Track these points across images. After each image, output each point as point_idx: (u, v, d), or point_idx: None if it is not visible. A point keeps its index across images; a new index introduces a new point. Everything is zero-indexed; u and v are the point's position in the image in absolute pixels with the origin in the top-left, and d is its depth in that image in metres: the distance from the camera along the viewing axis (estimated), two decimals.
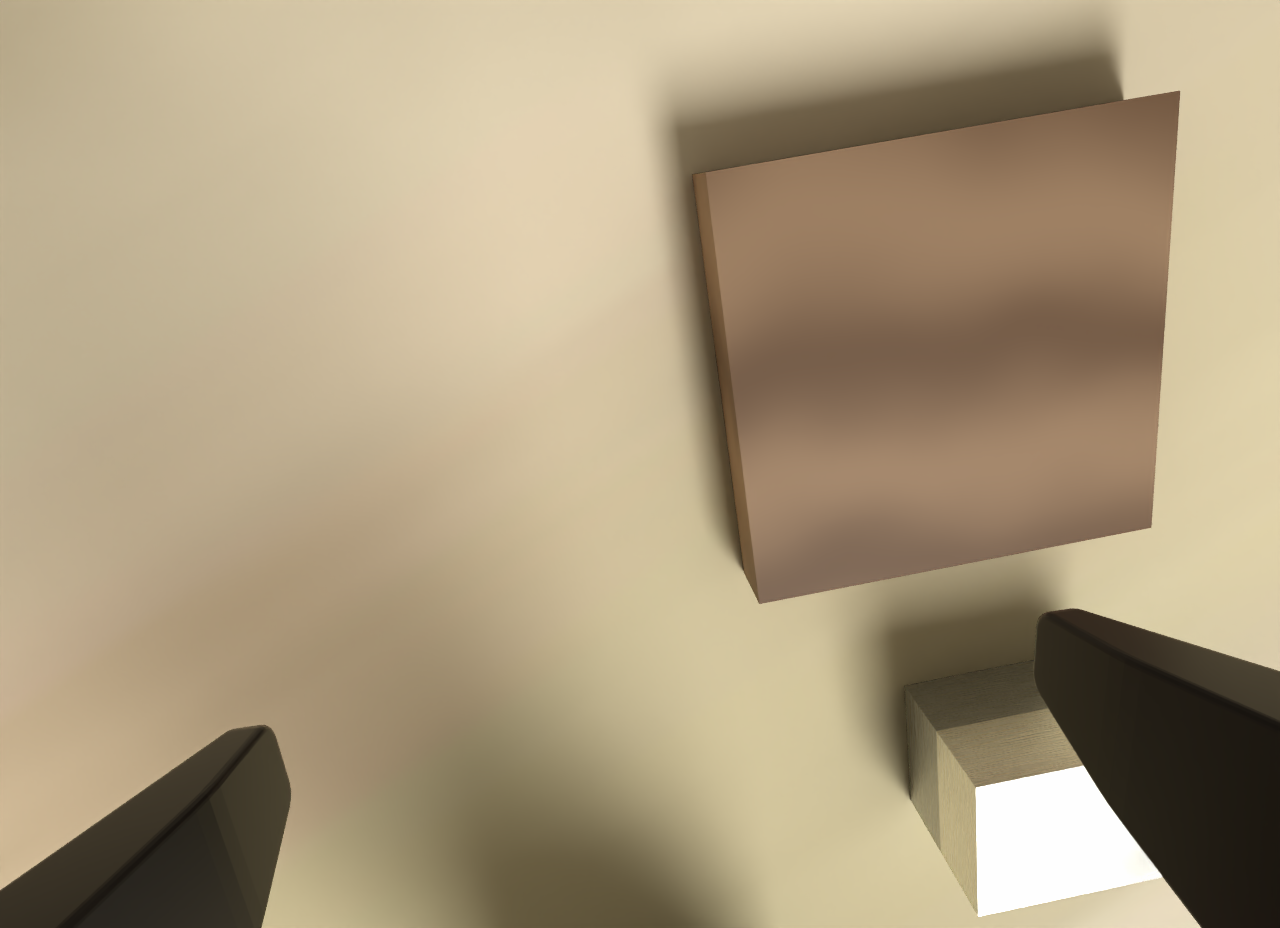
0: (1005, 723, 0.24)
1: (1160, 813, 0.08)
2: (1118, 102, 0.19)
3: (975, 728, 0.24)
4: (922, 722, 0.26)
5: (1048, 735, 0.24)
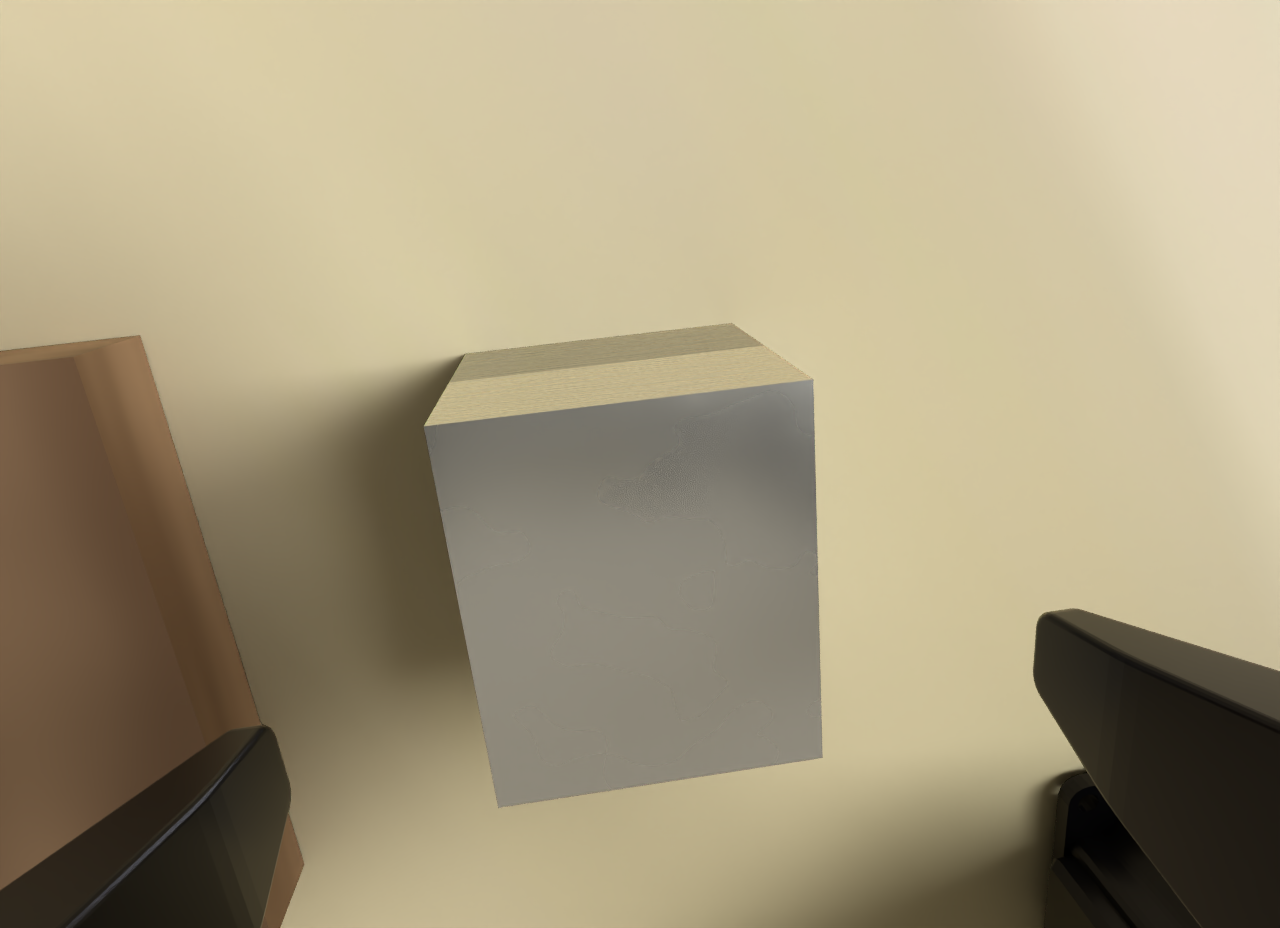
0: None
1: (1160, 813, 0.08)
2: None
3: None
4: None
5: None
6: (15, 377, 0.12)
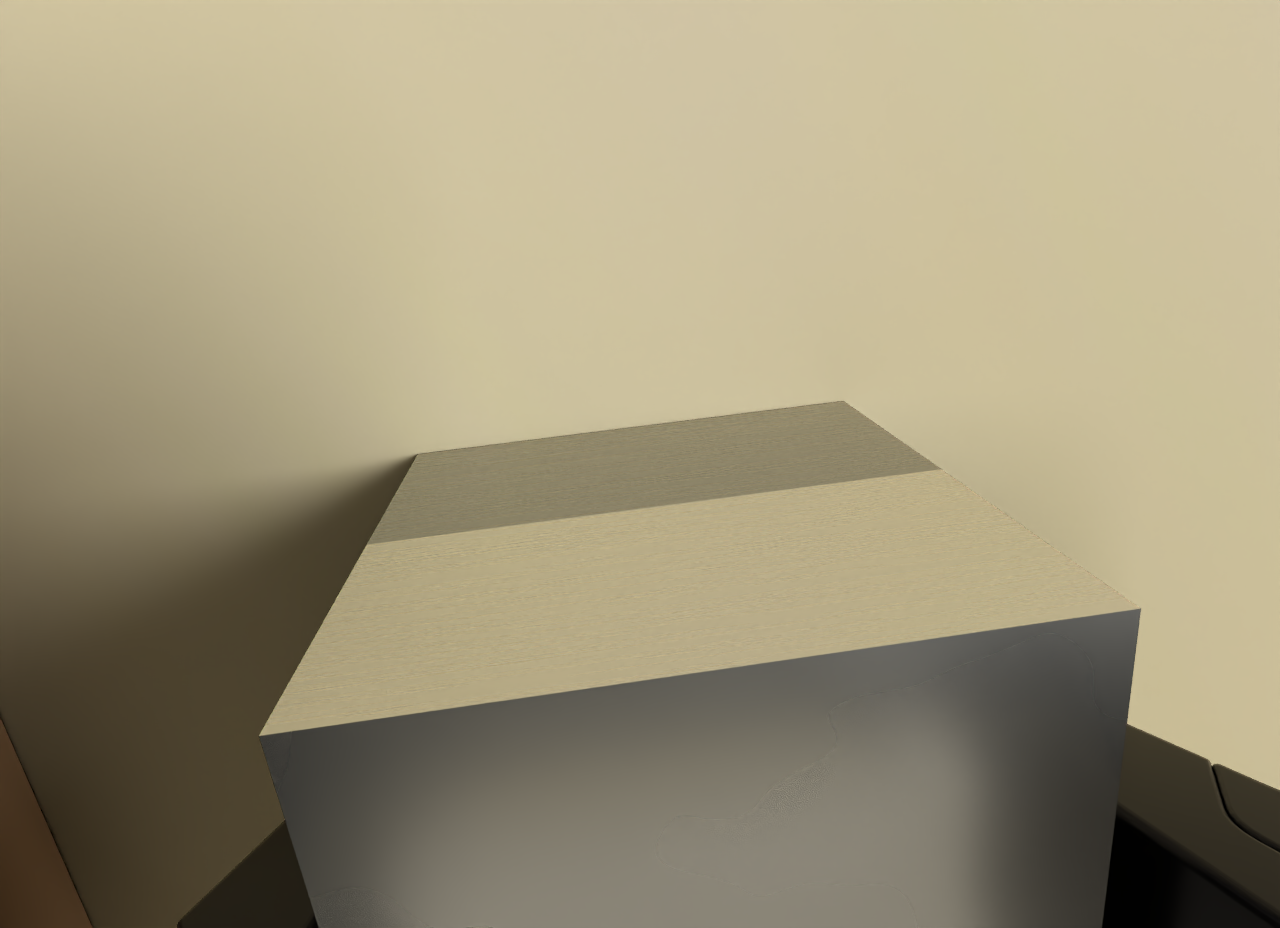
0: None
1: None
2: None
3: None
4: None
5: None
6: None
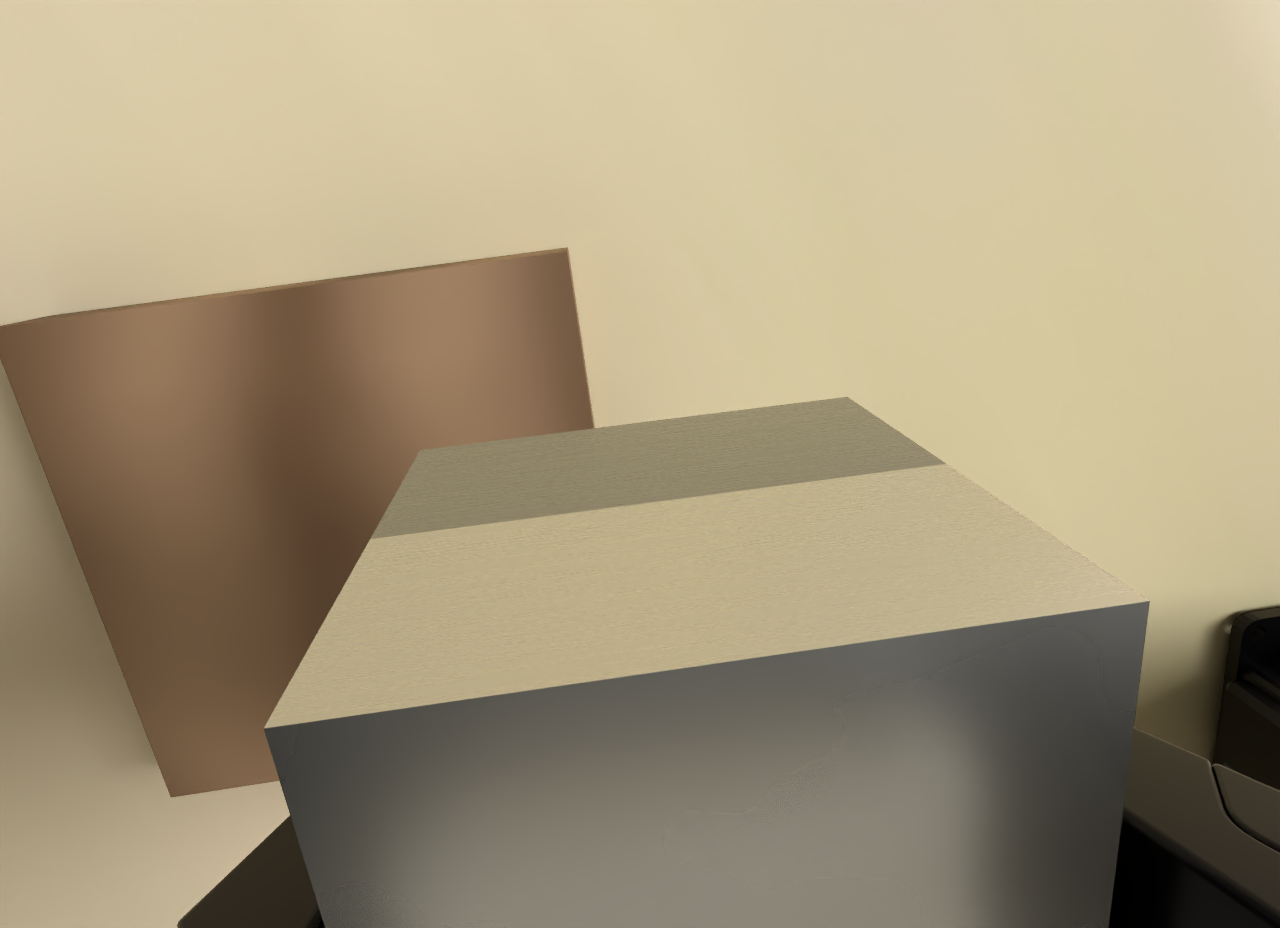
0: None
1: None
2: (19, 402, 0.17)
3: None
4: None
5: None
6: (525, 267, 0.17)
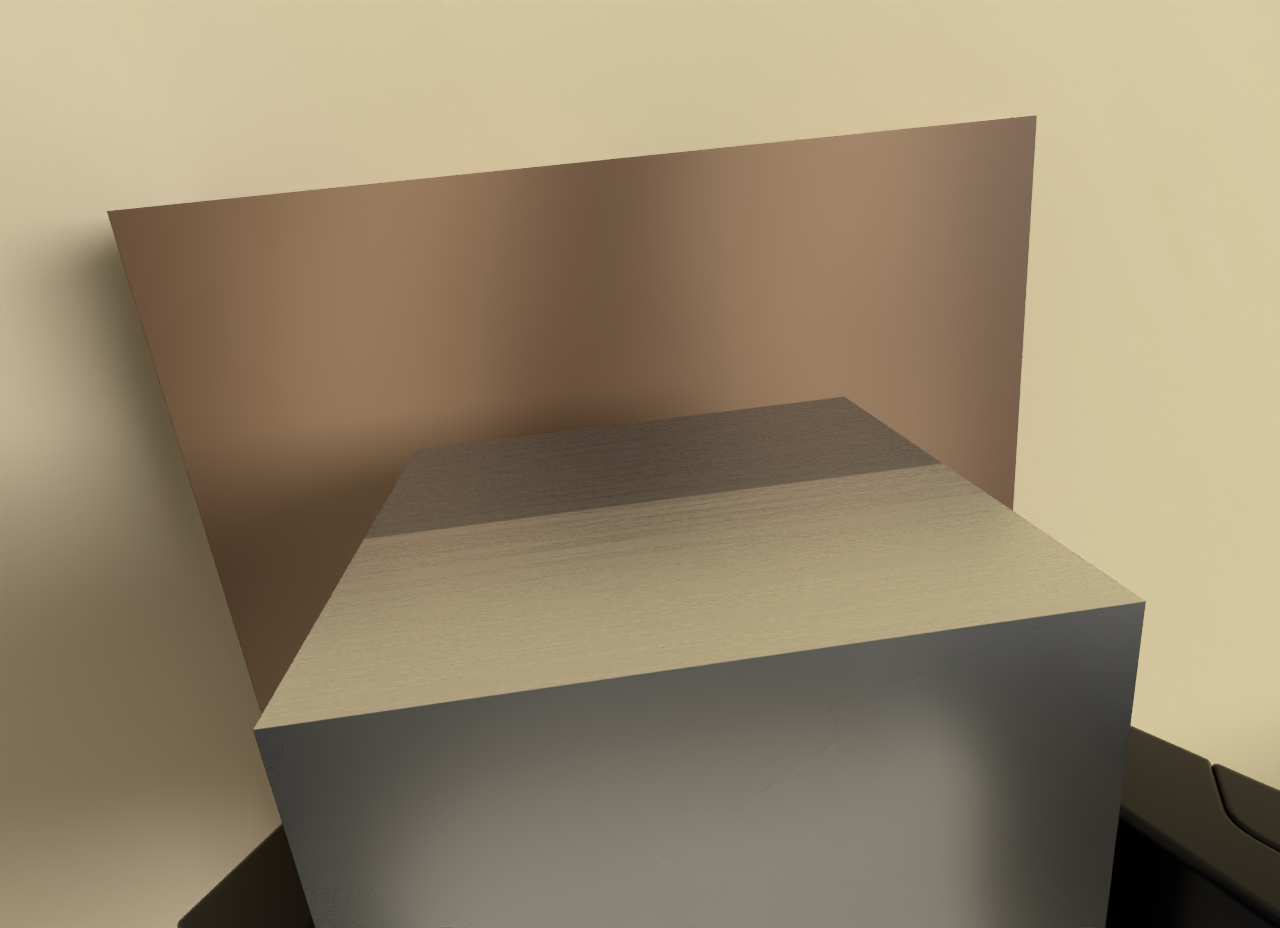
0: None
1: None
2: (148, 337, 0.10)
3: None
4: None
5: None
6: (969, 139, 0.10)
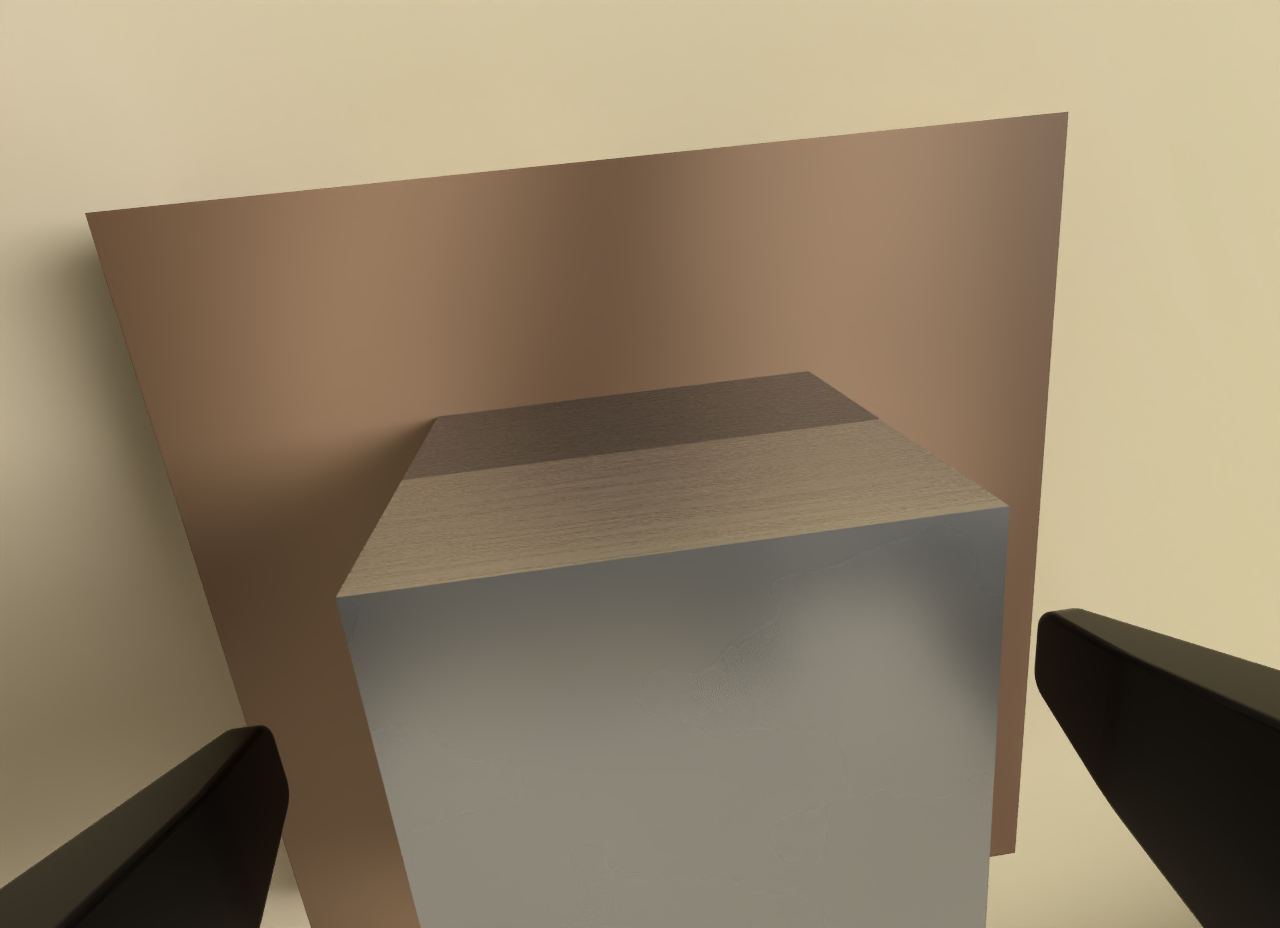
0: None
1: (1162, 813, 0.08)
2: (130, 346, 0.10)
3: None
4: None
5: None
6: (997, 136, 0.10)
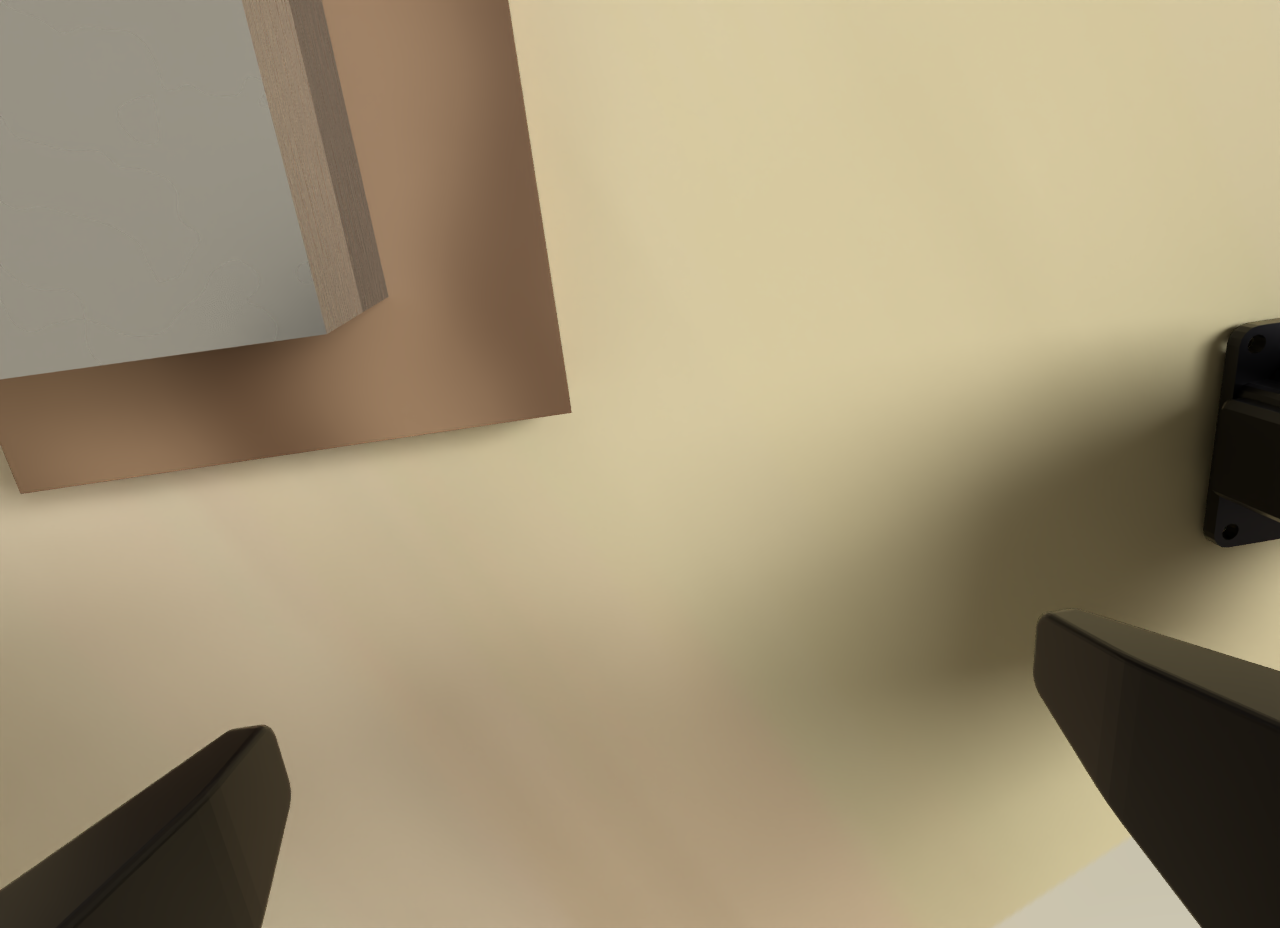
0: None
1: (1160, 813, 0.08)
2: None
3: None
4: None
5: None
6: None
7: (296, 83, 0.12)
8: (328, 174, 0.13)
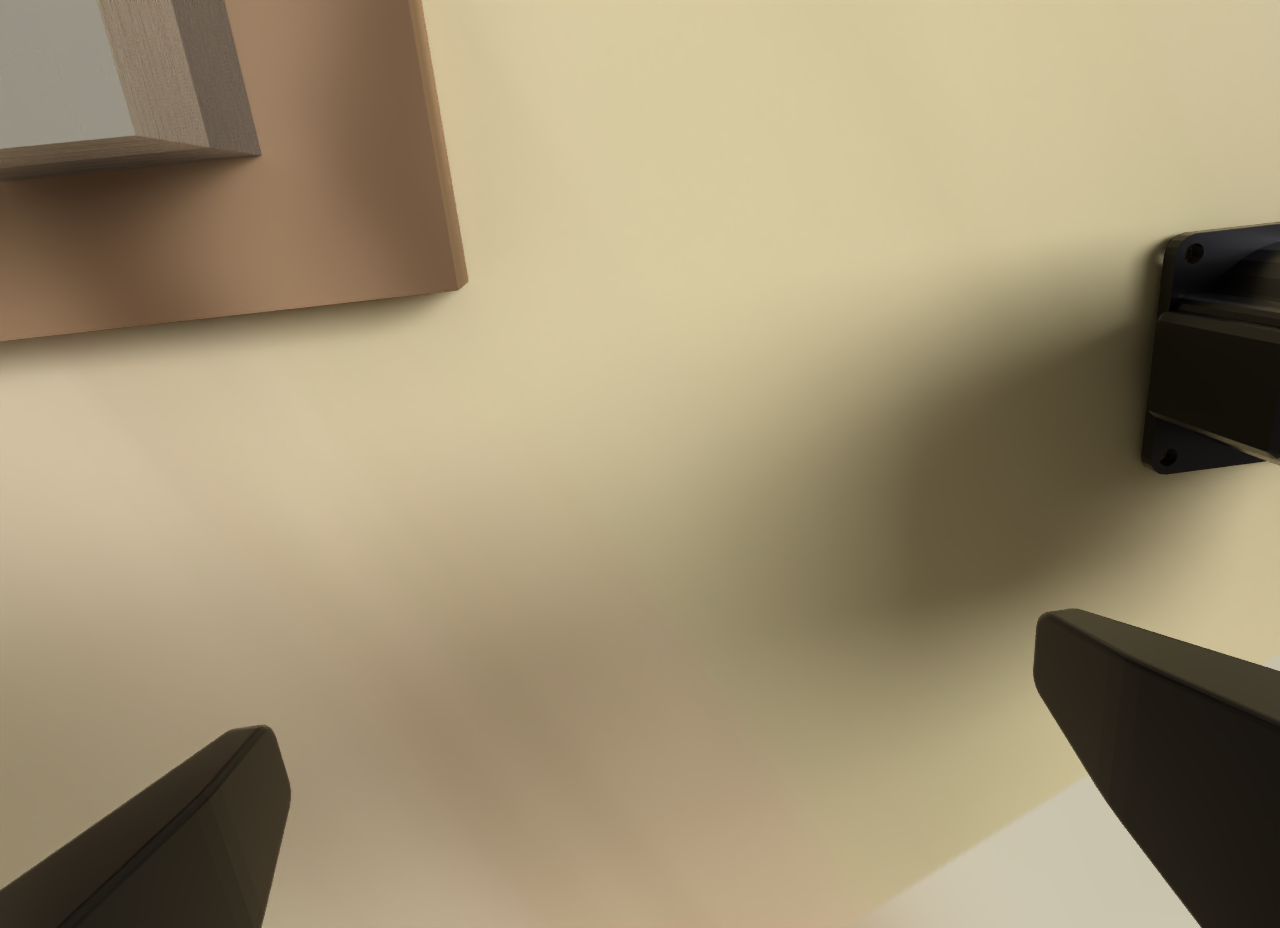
0: None
1: (1160, 813, 0.08)
2: None
3: None
4: None
5: None
6: None
7: None
8: None
